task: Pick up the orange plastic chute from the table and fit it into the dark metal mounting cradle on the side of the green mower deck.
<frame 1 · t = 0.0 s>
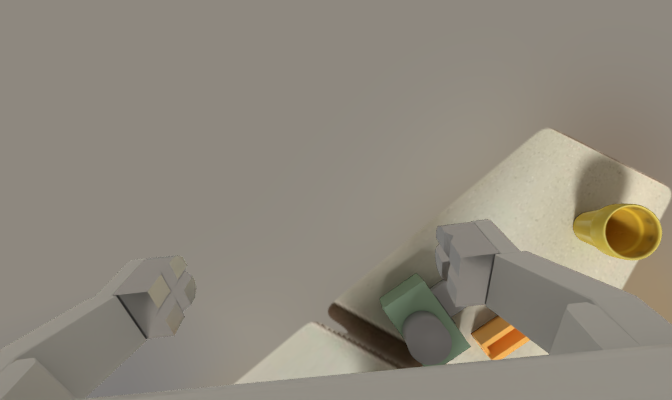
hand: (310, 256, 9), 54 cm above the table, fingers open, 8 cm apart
plant pot: (587, 227, 61), on the table
chute: (499, 326, 62), on the table
mower deck: (418, 315, 63), on the table
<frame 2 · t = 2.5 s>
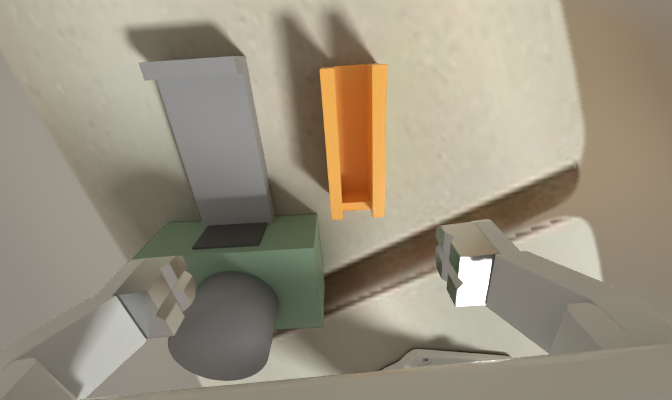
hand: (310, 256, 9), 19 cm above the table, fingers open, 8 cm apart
chute: (351, 136, 26), on the table
mower deck: (251, 256, 32), on the table
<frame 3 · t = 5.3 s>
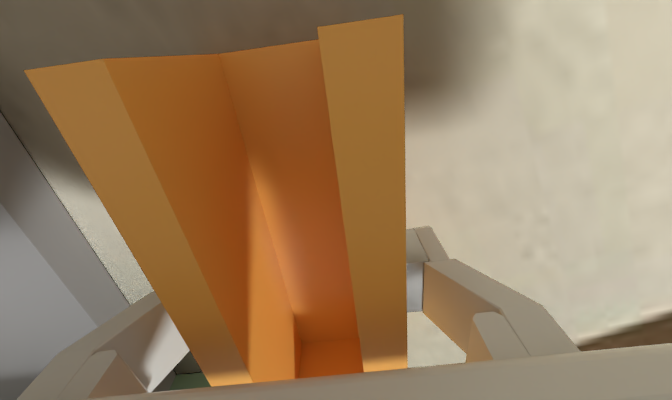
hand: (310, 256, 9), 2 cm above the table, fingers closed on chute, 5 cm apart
chute: (313, 227, 11), on the table, touching gripper
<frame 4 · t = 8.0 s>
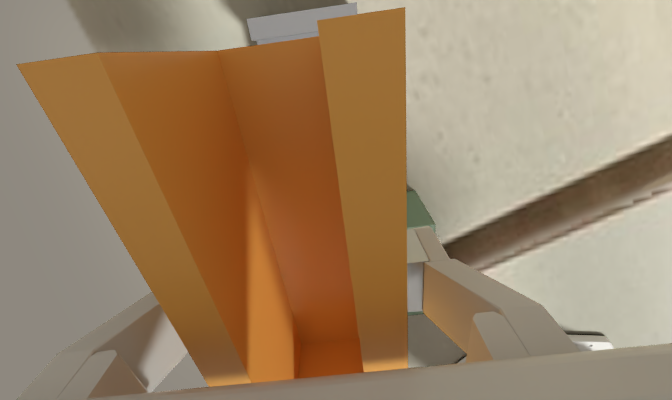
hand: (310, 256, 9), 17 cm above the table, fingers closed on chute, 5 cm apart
chute: (312, 227, 10), point 15 cm above the table, touching gripper
mower deck: (338, 241, 30), on the table
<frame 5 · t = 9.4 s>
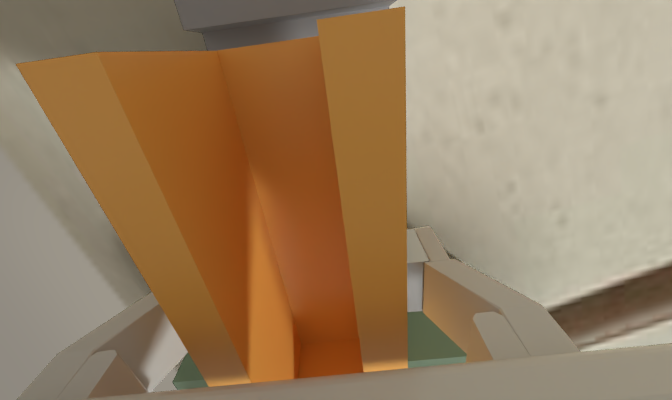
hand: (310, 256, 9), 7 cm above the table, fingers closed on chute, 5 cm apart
chute: (312, 226, 10), point 5 cm above the table, touching gripper
mower deck: (345, 326, 21), on the table
when the fingers open (4 cm above the table, at t = 10.3 s): chute stays where it is, resting on mower deck.
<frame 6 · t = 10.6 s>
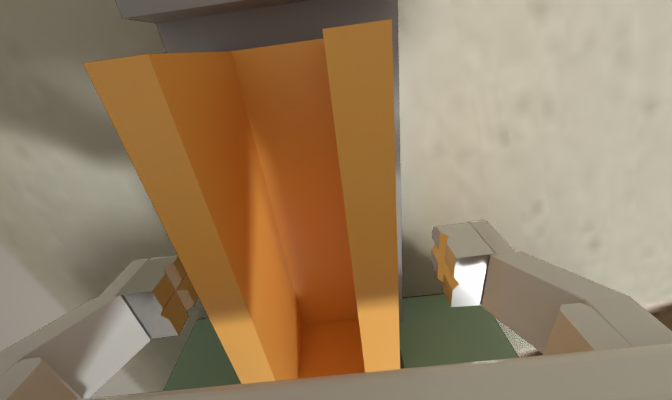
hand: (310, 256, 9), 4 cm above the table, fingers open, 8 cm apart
chute: (314, 214, 11), point 1 cm above the table, touching mower deck
mower deck: (344, 359, 18), on the table
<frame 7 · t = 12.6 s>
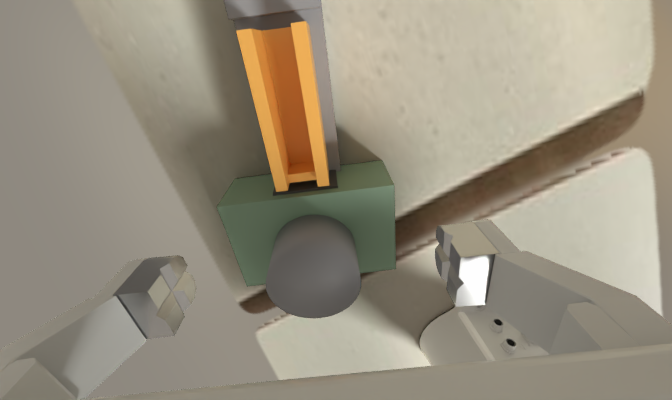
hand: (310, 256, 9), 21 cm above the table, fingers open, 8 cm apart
chute: (294, 105, 26), point 1 cm above the table, touching mower deck
mower deck: (315, 208, 33), on the table
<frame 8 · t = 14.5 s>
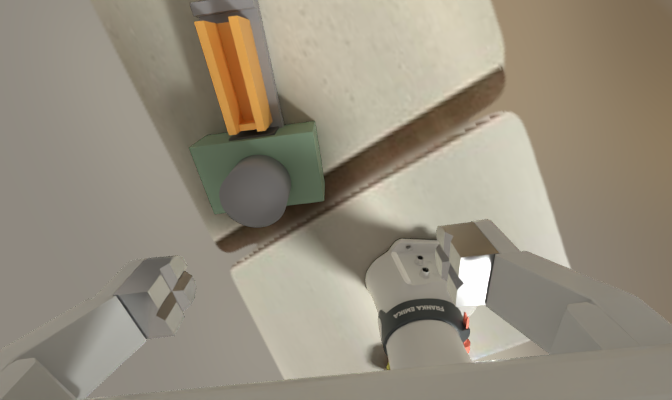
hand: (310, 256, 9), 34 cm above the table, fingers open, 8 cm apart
chute: (244, 77, 36), point 1 cm above the table, touching mower deck
mower deck: (268, 160, 43), on the table
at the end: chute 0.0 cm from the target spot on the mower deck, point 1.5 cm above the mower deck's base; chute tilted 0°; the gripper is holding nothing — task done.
